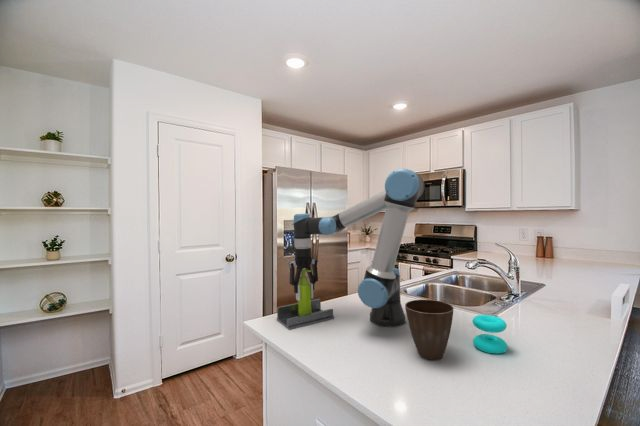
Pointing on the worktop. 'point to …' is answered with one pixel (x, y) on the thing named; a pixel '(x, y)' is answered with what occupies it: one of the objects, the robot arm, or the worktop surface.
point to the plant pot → (429, 326)
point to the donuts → (489, 341)
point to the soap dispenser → (304, 295)
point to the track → (293, 320)
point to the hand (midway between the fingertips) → (304, 298)
